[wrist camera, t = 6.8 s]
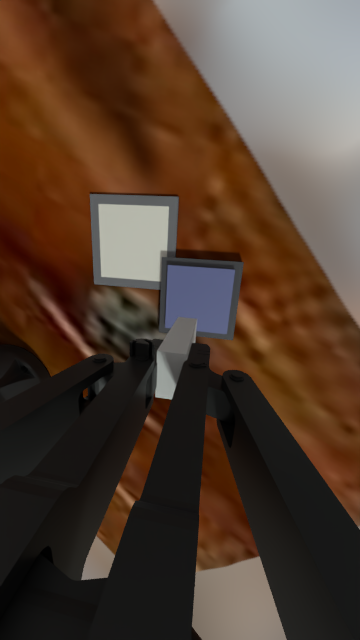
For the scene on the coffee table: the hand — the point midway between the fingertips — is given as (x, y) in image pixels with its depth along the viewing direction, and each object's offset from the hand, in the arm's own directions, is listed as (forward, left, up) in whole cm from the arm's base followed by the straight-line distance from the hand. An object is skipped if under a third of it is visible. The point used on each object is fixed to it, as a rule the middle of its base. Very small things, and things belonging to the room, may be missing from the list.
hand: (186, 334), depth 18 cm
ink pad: (0, 0, -16) cm, 16 cm away
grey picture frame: (-10, +7, -16) cm, 20 cm away
